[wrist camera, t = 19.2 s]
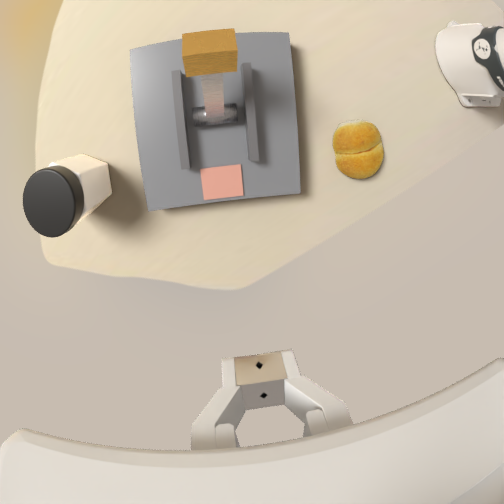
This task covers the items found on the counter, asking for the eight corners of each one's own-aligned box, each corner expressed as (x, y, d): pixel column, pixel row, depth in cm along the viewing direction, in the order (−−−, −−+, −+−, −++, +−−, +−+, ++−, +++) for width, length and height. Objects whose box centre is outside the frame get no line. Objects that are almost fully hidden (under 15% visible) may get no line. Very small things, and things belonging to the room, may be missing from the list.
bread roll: (337, 182, 41) (348, 187, 37) (325, 124, 37) (336, 124, 33) (382, 171, 41) (395, 175, 37) (372, 116, 37) (386, 116, 33)
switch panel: (282, 41, 31) (293, 26, 25) (292, 187, 40) (306, 197, 34) (137, 56, 29) (124, 44, 23) (154, 203, 38) (143, 217, 33)
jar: (58, 197, 36) (16, 223, 25) (72, 148, 33) (27, 158, 22) (104, 217, 38) (70, 250, 27) (121, 167, 36) (86, 183, 25)
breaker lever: (235, 107, 31) (237, 28, 18) (238, 128, 31) (241, 49, 18) (194, 112, 31) (179, 34, 18) (195, 133, 31) (178, 56, 18)
